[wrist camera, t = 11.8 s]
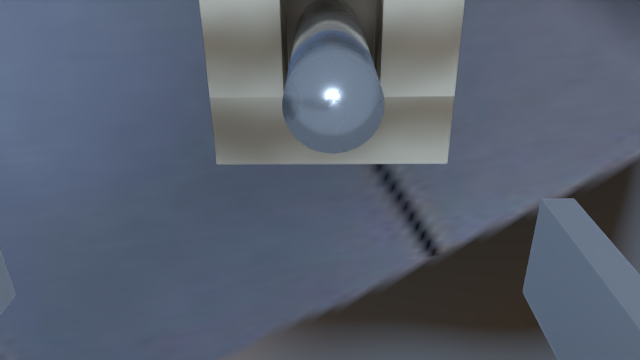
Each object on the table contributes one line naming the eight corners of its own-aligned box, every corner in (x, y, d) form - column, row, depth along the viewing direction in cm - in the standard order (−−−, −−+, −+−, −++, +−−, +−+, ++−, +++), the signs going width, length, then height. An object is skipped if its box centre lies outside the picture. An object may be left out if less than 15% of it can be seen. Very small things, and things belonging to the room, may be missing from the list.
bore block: (430, 127, 38) (447, 163, 33) (232, 128, 38) (216, 164, 33) (450, -96, 32) (475, -96, 26) (212, -94, 32) (189, -93, 27)
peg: (360, 63, 35) (382, 153, 22) (297, 63, 35) (284, 153, 22) (361, -3, 33) (386, 55, 20) (295, -2, 33) (279, 56, 20)
